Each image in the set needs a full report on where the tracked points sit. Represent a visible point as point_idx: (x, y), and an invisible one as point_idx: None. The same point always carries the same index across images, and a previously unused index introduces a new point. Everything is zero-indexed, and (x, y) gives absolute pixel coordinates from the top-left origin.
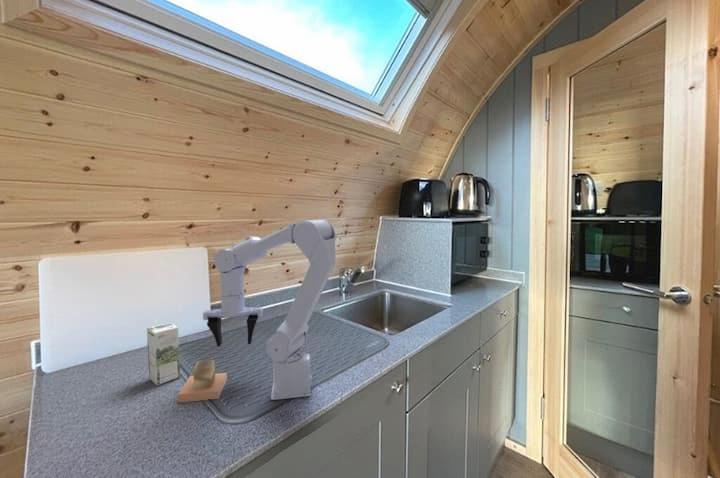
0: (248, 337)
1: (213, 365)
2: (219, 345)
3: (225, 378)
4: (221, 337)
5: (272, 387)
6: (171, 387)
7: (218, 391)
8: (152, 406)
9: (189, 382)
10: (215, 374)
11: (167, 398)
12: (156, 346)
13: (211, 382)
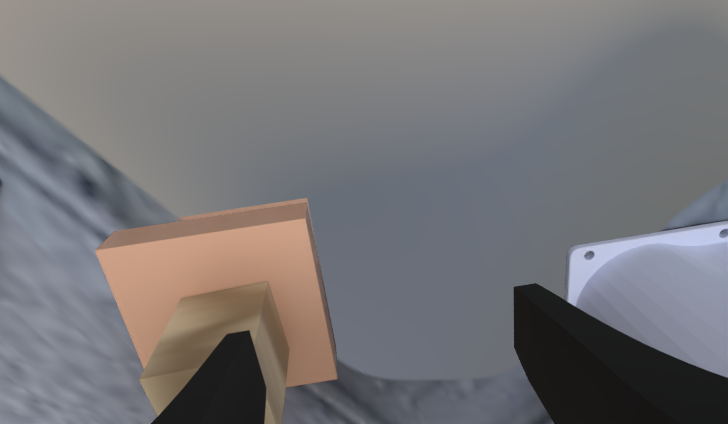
0: (556, 414)
1: (264, 367)
2: (263, 398)
3: (311, 240)
4: (235, 366)
5: (568, 300)
6: (38, 273)
7: (335, 367)
8: (78, 402)
9: (143, 318)
10: (245, 239)
11: (98, 354)
12: None
13: (286, 364)
